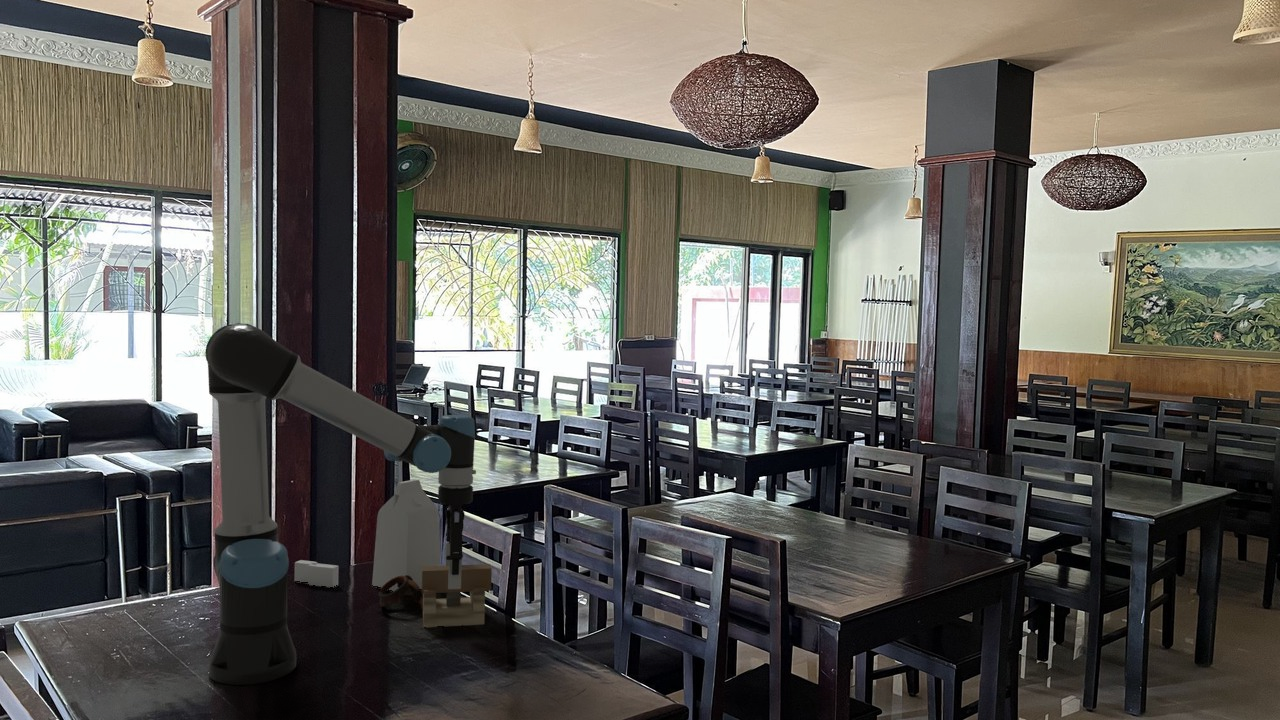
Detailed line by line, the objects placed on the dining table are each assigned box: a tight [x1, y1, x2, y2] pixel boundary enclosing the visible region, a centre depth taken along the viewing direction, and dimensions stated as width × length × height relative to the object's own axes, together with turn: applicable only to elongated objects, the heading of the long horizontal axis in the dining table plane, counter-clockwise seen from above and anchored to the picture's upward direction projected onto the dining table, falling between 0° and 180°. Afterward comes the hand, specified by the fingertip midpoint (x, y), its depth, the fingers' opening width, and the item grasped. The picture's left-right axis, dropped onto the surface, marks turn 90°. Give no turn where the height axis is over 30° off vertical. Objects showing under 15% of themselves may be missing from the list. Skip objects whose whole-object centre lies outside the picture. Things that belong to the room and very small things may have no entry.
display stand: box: [422, 587, 486, 628], centre depth 203 cm, size 10×13×8 cm
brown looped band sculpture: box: [378, 575, 423, 609], centre depth 210 cm, size 12×10×8 cm
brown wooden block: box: [421, 563, 492, 595], centre depth 202 cm, size 4×15×5 cm, turn 104°
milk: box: [371, 478, 441, 592], centre depth 226 cm, size 12×12×26 cm
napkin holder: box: [294, 559, 339, 588], centre depth 225 cm, size 15×11×6 cm
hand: (452, 579), depth 202 cm, fingers open, 13 cm apart
